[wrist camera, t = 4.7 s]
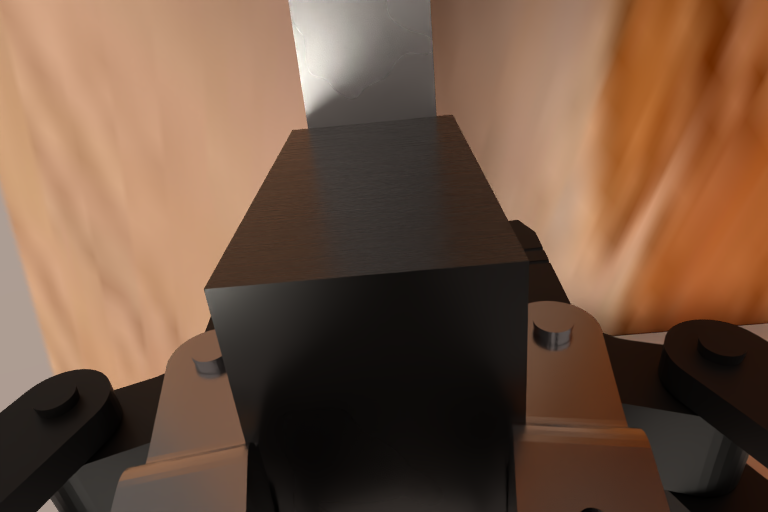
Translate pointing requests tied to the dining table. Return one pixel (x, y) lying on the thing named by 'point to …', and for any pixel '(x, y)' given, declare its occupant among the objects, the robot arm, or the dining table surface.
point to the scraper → (375, 286)
